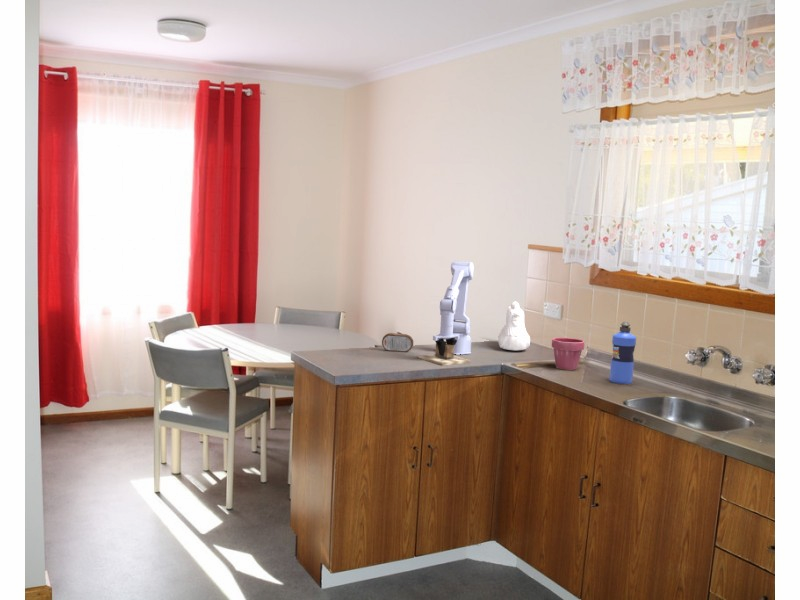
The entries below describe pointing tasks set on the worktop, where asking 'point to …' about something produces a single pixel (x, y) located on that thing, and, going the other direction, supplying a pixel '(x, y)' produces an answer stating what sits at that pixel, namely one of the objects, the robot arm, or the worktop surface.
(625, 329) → the water bottle
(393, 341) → the tin
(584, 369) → the worktop surface
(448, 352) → the block
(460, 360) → the board
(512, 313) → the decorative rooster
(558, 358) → the plant pot
